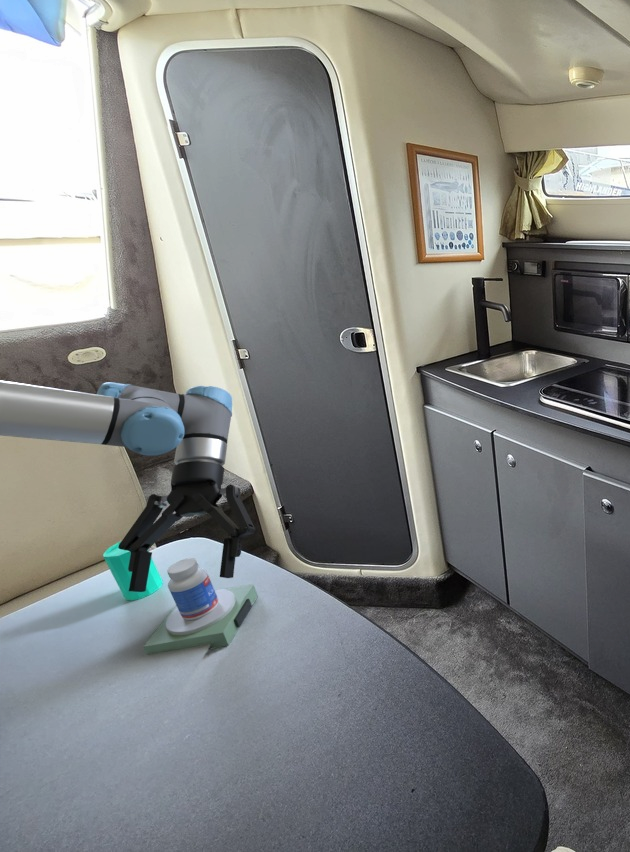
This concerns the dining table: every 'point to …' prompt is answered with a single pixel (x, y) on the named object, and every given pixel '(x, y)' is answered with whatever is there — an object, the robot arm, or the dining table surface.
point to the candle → (129, 573)
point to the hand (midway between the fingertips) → (182, 584)
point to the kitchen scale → (205, 623)
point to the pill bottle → (191, 589)
